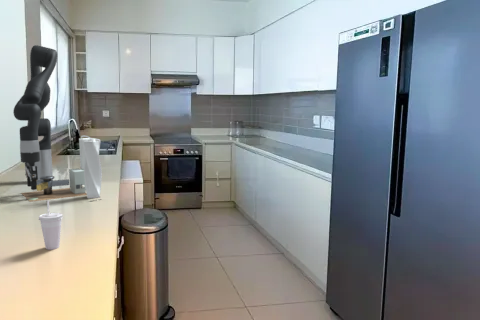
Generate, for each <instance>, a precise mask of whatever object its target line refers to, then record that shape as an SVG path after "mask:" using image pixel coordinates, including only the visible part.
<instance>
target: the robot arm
mask: <svg viewBox="0 0 480 320" xmlns="http://www.w3.org/2000/svg"><path fill="white" fill-rule="evenodd" d="M29 54H30V55H29V63H30V68H29V69H30V80H29V81H28V82H27V84H26V87H25V90H24V92H23V95H22V96H21V97H20V98H19V100H18V101H17V102H16V104H15V105H14V108H13V116H14V118H15V119H16V120H18V121H22V122H23V121H27V125H23V126H21V127H20V128H19V140H20V141H19V154H20V155H19V156H20V162H21V163H24V168H25V169H24V170H25V172H24V173H25V174H24V175H25V178H26V184H27V187H30V189H31V191H37V180H41V179H40V177H43V176H54V174H53V157H52V137H51V135H52V132H51V131H52V130H51V129H52V126H51V121H50V118H41V117H42V111H44V109H46V107H47V106H48V105H49V103H50V100H51V88H50V85H49V83H48V82H49V79H50V78H51V75H52V74H53V72H54V70H55V68H56V65H57V63H58V62H57V61H58V52H57V50H55V49H53V48H50V47H47V46H42V45H38V44H36V45H35V44H34V45H33V46H32V47H31V50H30V53H29ZM40 68H44V69H43V70H42V71H41V69H40ZM39 137H43V138H42V139H41V140H39ZM53 180H54V179H52V181H53Z"/></svg>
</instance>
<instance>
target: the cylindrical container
mask: <svg viewBox="0 0 480 320" xmlns="http://www.w3.org/2000/svg"><path fill="white" fill-rule="evenodd" d="M90 138H91V139H92V138H93V137H90ZM90 138H88V137H82V139H83V141H88V139H90ZM82 139H81V138H78V142H79V143H78V144H79V146H78V147H79V165H80V168H79V169H81V170H83V171H84V162H85V153H84V147H83V142H82ZM85 191H86V186H85Z"/></svg>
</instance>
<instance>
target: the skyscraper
mask: <svg viewBox="0 0 480 320" xmlns="http://www.w3.org/2000/svg"><path fill="white" fill-rule="evenodd" d="M82 138H90V139H88V141H83V139H82ZM91 138H92V139H91ZM80 139H82V142H83V147H84V153H85V162H84V178H85V186H86V190H85V193H87V195H86V198H87V199H92V200H91V202H93V201H96V199H98V198H100V199H99V201H102V199H101V190H102V178H103V177H102V176H103V175H102V173H103V171H102V163H101V159H100V149H101V141H102V140H101V139H99V138H95V137H90V136H89V135H84V134H83V135H81V136H80ZM95 198H96V199H95Z"/></svg>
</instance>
